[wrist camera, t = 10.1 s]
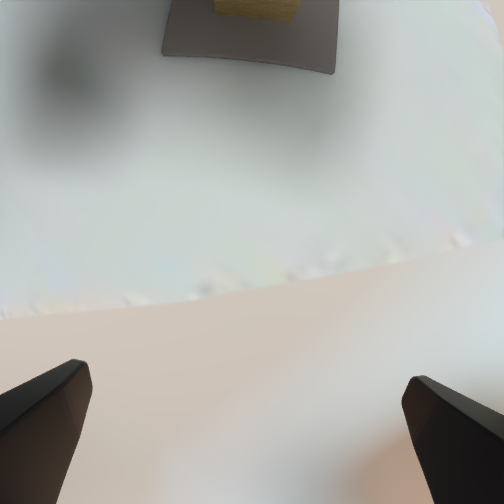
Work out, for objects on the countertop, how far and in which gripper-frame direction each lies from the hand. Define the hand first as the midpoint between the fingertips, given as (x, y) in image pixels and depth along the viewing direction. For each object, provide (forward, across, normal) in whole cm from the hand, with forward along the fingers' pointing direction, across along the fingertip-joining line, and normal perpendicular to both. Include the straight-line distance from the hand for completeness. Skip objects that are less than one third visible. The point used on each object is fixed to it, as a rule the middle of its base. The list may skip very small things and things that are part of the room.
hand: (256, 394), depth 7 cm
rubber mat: (+12, +1, -17) cm, 21 cm away
